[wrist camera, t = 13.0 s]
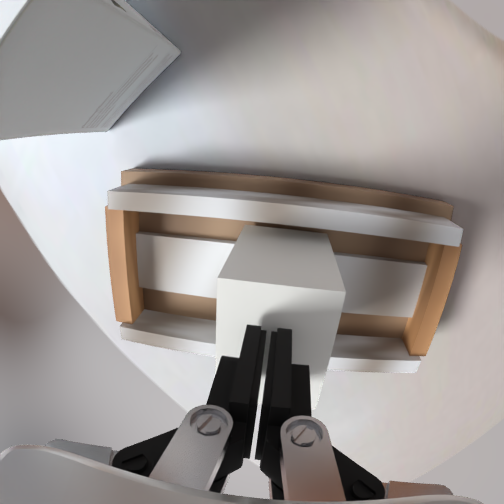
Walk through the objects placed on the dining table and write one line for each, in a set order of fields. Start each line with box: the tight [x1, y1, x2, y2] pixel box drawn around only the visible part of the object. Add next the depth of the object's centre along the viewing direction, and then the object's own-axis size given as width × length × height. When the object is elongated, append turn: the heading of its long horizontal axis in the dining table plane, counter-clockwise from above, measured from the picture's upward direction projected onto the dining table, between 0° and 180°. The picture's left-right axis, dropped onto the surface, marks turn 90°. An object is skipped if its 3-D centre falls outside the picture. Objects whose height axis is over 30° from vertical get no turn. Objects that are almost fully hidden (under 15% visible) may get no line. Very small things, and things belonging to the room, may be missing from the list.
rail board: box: [105, 169, 463, 373], centre depth 19 cm, size 20×11×4 cm, turn 86°
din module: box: [215, 225, 346, 410], centre depth 15 cm, size 4×6×7 cm
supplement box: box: [0, 0, 181, 140], centre depth 11 cm, size 7×7×13 cm
